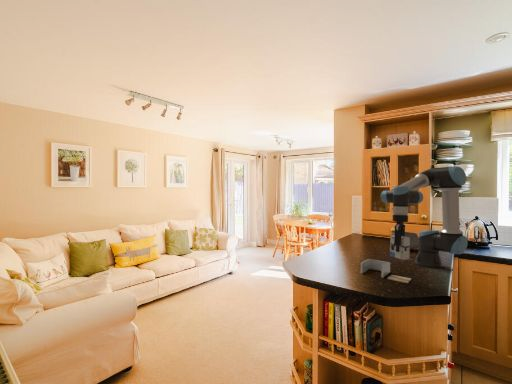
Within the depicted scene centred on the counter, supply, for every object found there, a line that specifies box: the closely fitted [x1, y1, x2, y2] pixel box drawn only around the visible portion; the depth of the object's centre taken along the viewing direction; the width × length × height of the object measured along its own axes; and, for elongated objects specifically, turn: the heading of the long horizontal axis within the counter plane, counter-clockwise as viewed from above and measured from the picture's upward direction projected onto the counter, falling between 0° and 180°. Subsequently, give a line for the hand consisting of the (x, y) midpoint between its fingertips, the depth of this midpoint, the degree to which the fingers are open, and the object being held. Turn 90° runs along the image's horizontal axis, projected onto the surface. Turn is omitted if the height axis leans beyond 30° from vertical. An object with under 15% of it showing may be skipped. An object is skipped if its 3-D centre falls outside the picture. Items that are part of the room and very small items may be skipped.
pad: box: [386, 274, 412, 284], centre depth 146 cm, size 9×10×1 cm
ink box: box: [389, 234, 411, 261], centre depth 147 cm, size 8×5×12 cm, turn 26°
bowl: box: [391, 231, 419, 250], centre depth 235 cm, size 20×20×15 cm
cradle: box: [360, 258, 391, 279], centre depth 158 cm, size 14×12×6 cm
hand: (399, 256), depth 146 cm, fingers closed on ink box, 7 cm apart
